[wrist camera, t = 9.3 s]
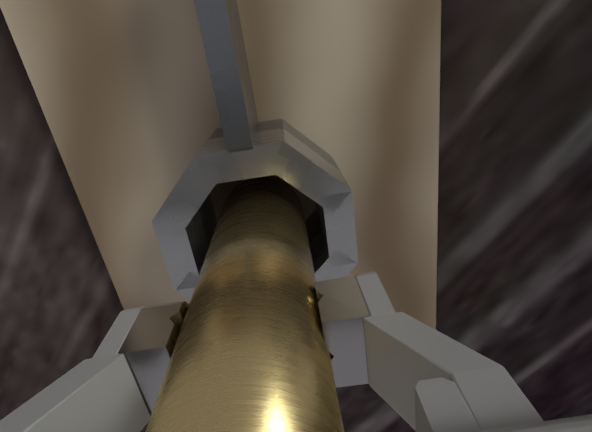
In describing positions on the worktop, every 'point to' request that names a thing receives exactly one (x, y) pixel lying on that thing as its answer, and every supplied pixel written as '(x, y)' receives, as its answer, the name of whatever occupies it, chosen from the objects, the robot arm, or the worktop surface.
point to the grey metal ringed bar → (250, 166)
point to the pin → (252, 327)
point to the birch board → (269, 105)
